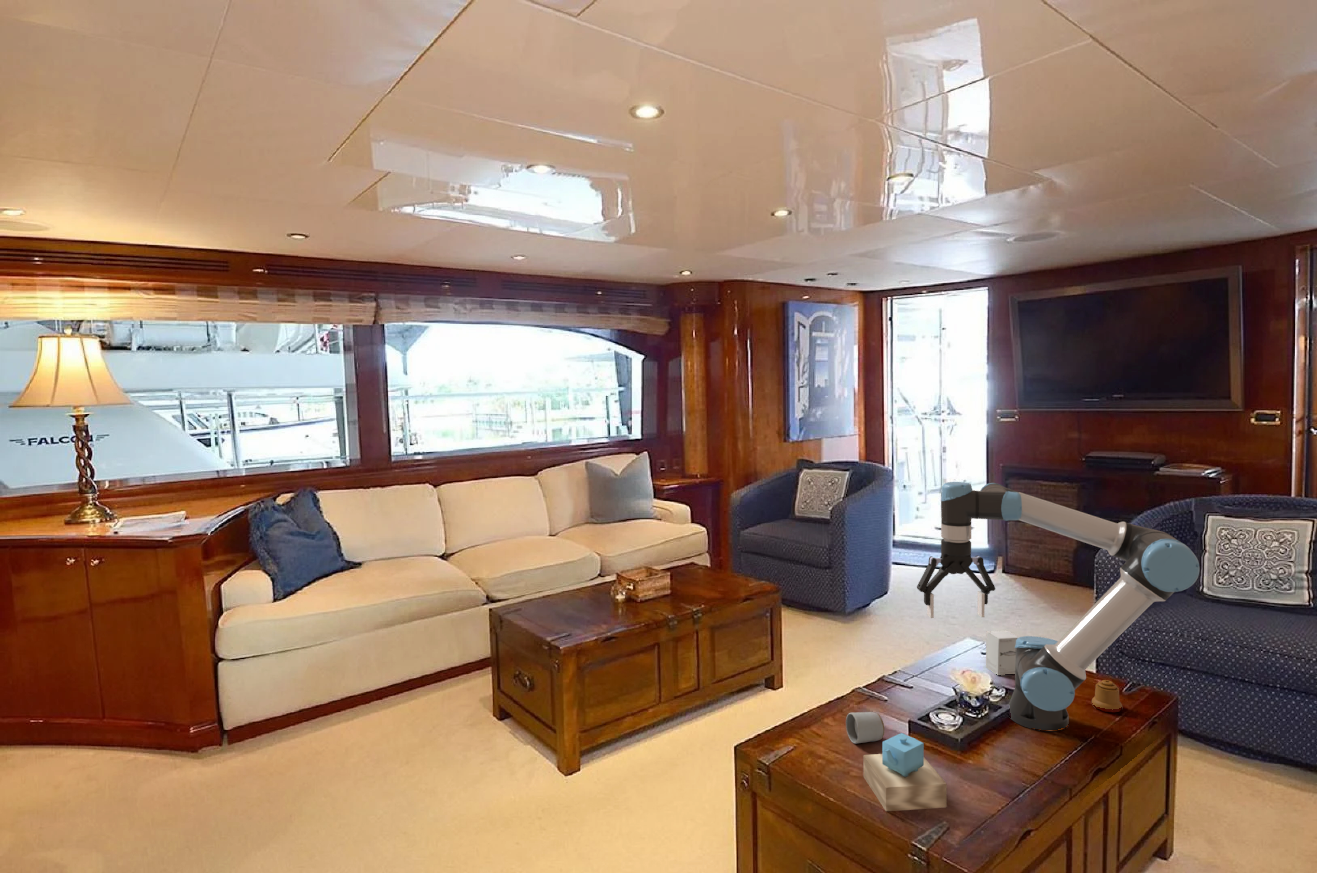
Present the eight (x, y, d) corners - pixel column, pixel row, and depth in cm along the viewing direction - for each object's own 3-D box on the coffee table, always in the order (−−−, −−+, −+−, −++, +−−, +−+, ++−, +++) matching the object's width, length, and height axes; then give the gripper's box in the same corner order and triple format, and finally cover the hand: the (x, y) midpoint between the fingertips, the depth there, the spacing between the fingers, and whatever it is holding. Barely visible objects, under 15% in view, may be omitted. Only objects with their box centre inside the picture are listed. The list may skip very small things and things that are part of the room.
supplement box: (997, 676, 227) (998, 638, 226) (985, 667, 234) (985, 630, 234) (1019, 675, 228) (1020, 637, 227) (1006, 666, 235) (1006, 629, 234)
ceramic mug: (886, 745, 186) (886, 716, 186) (858, 749, 185) (858, 720, 184) (866, 727, 197) (866, 700, 196) (839, 730, 195) (839, 703, 195)
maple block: (919, 775, 173) (919, 751, 172) (946, 809, 159) (946, 783, 158) (863, 778, 172) (863, 755, 171) (885, 813, 158) (885, 787, 157)
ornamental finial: (1096, 713, 201) (1088, 701, 208) (1126, 715, 199) (1116, 703, 206) (1097, 685, 201) (1088, 675, 208) (1127, 688, 199) (1117, 677, 206)
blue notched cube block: (895, 784, 158) (895, 752, 158) (873, 773, 163) (873, 741, 163) (927, 767, 165) (927, 736, 165) (905, 756, 170) (905, 726, 170)
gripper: (996, 535, 194) (995, 611, 195) (905, 537, 194) (905, 612, 196) (1009, 541, 186) (1008, 620, 188) (914, 543, 187) (914, 621, 188)
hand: (955, 616), depth 192 cm, fingers open, 13 cm apart
